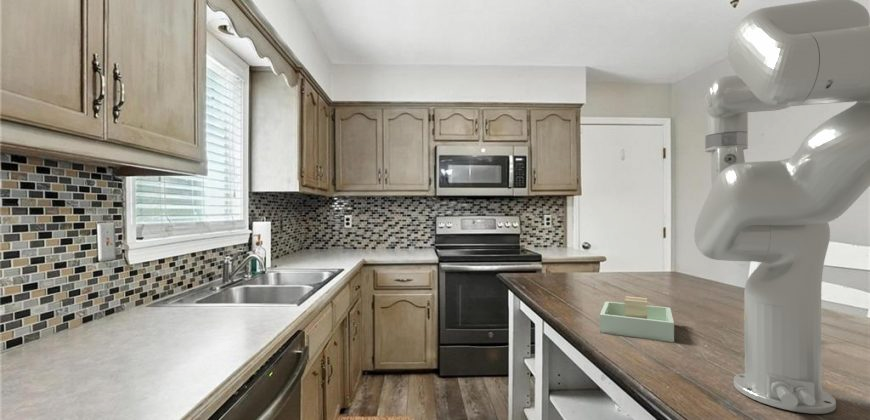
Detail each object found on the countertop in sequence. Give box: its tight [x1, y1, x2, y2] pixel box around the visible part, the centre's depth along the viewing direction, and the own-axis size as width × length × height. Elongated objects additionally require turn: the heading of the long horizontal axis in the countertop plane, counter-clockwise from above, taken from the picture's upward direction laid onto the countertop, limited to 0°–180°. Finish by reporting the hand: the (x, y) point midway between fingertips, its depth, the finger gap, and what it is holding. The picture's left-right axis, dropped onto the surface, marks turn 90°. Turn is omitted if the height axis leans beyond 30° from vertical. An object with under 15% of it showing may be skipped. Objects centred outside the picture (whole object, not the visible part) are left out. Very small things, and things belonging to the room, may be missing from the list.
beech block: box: [624, 295, 648, 319], centre depth 101 cm, size 5×5×7 cm
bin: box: [599, 301, 675, 343], centre depth 101 cm, size 16×16×4 cm
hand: (726, 221), depth 86 cm, fingers open, 9 cm apart
